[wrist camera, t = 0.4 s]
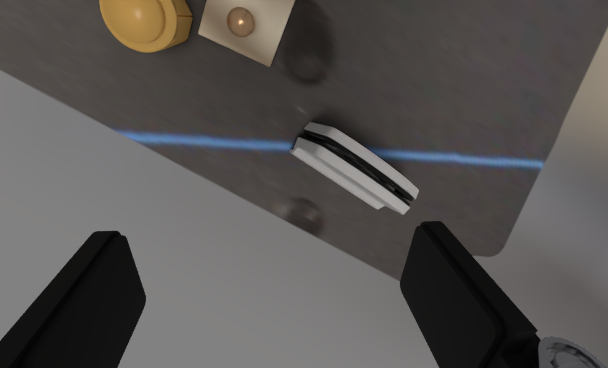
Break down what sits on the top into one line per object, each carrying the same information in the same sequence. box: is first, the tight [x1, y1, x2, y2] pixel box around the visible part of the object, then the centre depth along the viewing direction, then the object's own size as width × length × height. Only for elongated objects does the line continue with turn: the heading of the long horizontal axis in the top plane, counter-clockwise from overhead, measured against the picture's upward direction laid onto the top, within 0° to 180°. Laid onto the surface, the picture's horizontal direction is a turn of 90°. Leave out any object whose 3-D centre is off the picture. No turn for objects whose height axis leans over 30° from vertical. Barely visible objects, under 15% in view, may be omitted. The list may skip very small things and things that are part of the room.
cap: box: [100, 0, 193, 52], centre depth 26 cm, size 6×6×7 cm
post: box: [227, 7, 256, 37], centre depth 27 cm, size 2×2×4 cm
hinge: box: [289, 122, 419, 215], centre depth 37 cm, size 17×5×10 cm, turn 53°
